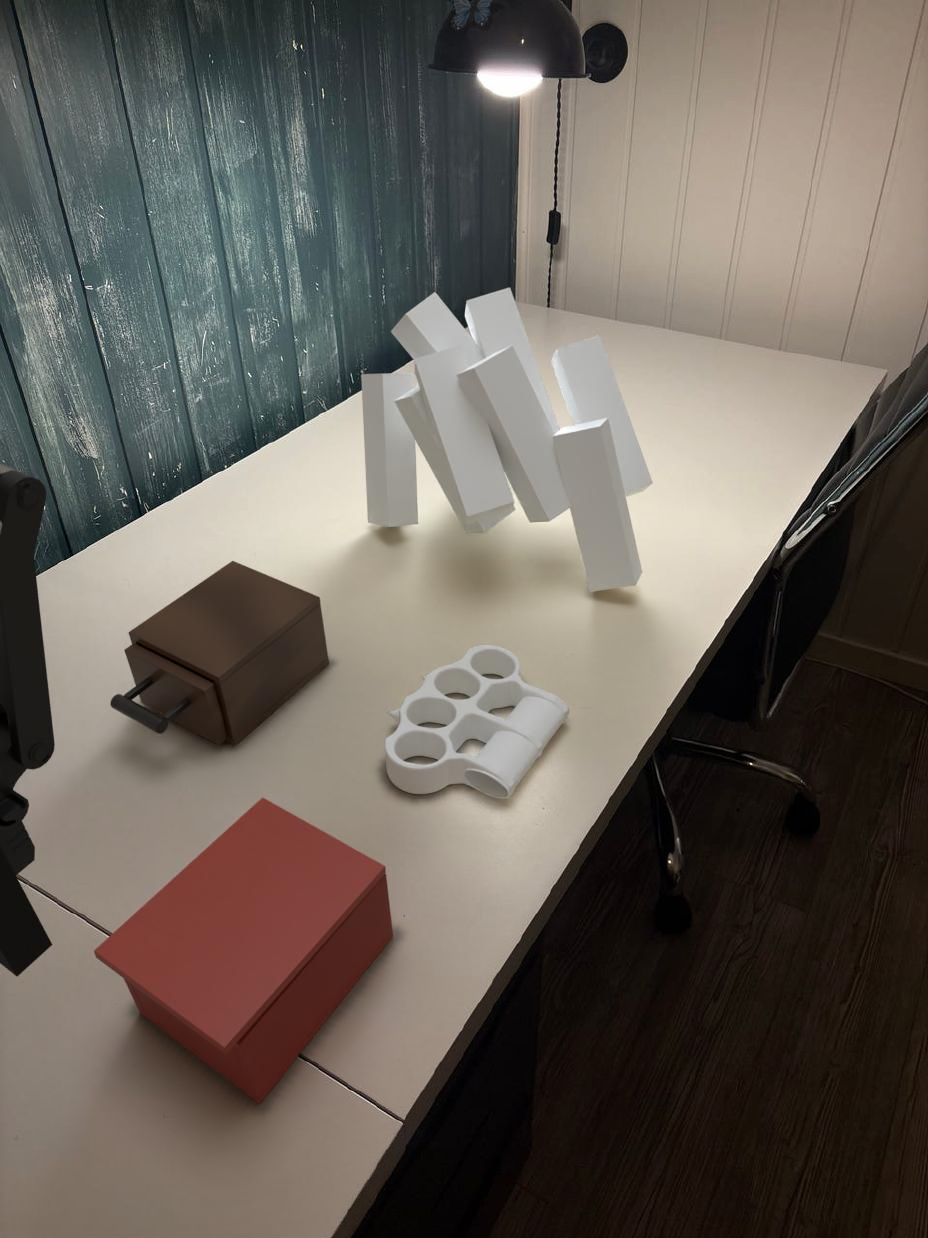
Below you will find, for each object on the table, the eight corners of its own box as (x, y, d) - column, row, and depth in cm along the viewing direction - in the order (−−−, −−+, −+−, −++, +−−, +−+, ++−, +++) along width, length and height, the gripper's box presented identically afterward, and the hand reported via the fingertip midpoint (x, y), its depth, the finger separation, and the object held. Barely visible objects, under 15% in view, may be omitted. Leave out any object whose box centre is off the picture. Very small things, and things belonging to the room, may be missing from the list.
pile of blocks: (679, 549, 118) (643, 266, 111) (649, 602, 91) (599, 231, 84) (430, 578, 130) (384, 325, 123) (337, 633, 103) (271, 311, 96)
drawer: (184, 775, 81) (167, 720, 77) (106, 729, 86) (86, 675, 81) (308, 668, 92) (300, 615, 88) (233, 633, 96) (221, 581, 92)
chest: (260, 1104, 60) (240, 1046, 55) (139, 1012, 65) (110, 951, 60) (393, 936, 69) (386, 873, 64) (278, 867, 74) (264, 804, 69)
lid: (226, 1055, 54) (224, 1048, 53) (95, 958, 59) (92, 951, 58) (386, 873, 64) (385, 866, 64) (264, 803, 69) (262, 796, 69)
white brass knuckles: (490, 833, 77) (349, 766, 83) (583, 703, 89) (454, 653, 95) (490, 806, 75) (346, 740, 81) (585, 678, 86) (454, 628, 93)
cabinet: (235, 746, 85) (218, 677, 80) (149, 699, 90) (127, 632, 85) (329, 663, 94) (320, 596, 88) (246, 625, 99) (232, 560, 93)
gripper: (-792, 470, 13) (-100, 1169, 27) (25, 228, 21) (216, 862, 36) (-897, 356, 16) (-229, 1036, 31) (-153, 186, 24) (89, 783, 39)
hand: (11, 941), depth 33 cm, fingers closed
